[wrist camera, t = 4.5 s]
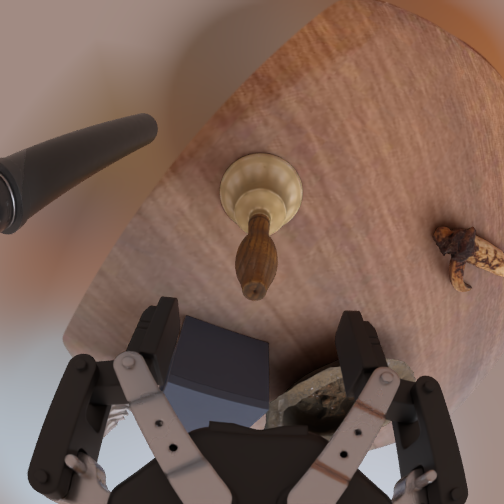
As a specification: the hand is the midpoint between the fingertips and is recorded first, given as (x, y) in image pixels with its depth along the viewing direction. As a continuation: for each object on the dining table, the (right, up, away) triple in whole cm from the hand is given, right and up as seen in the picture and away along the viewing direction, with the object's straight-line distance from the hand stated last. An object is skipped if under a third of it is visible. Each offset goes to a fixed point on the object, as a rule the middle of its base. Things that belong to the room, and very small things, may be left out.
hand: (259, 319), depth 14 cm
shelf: (-7, -14, +29) cm, 33 cm away
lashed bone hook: (+29, +2, +19) cm, 35 cm away
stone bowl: (+14, -18, +31) cm, 38 cm away
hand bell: (+1, +9, +16) cm, 18 cm away
